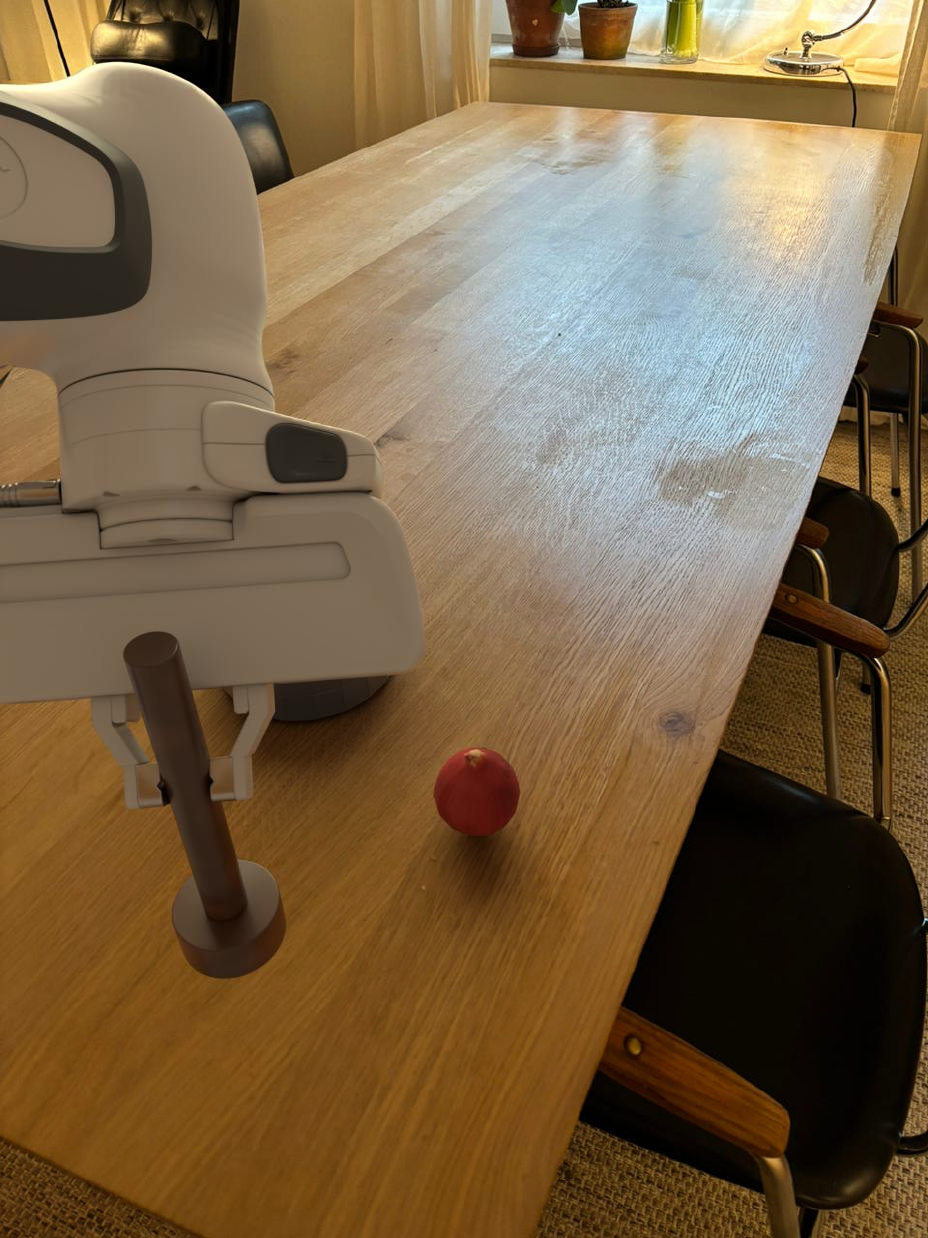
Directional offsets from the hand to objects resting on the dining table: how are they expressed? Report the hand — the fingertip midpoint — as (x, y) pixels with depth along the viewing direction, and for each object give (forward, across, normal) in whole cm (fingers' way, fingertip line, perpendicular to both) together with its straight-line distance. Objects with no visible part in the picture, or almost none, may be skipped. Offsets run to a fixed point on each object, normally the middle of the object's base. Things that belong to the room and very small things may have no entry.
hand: (191, 803), depth 41 cm
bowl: (-7, +1, +42) cm, 43 cm away
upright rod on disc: (+7, 0, +8) cm, 10 cm away
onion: (+6, +13, +29) cm, 33 cm away
